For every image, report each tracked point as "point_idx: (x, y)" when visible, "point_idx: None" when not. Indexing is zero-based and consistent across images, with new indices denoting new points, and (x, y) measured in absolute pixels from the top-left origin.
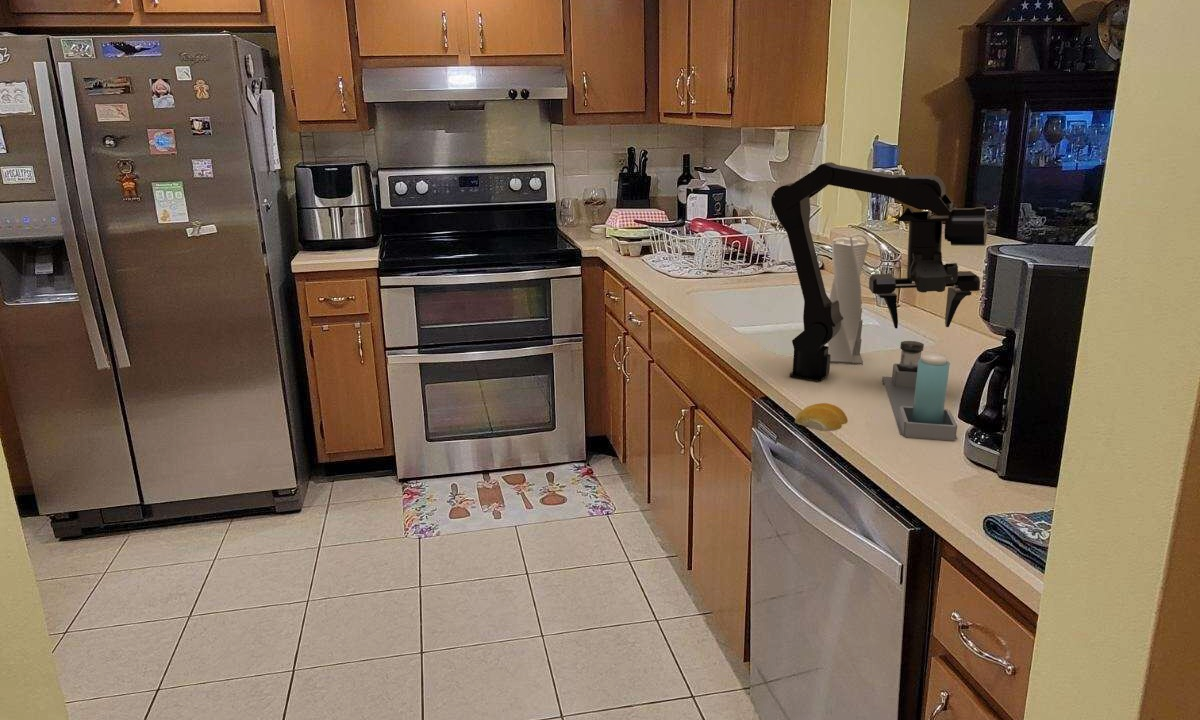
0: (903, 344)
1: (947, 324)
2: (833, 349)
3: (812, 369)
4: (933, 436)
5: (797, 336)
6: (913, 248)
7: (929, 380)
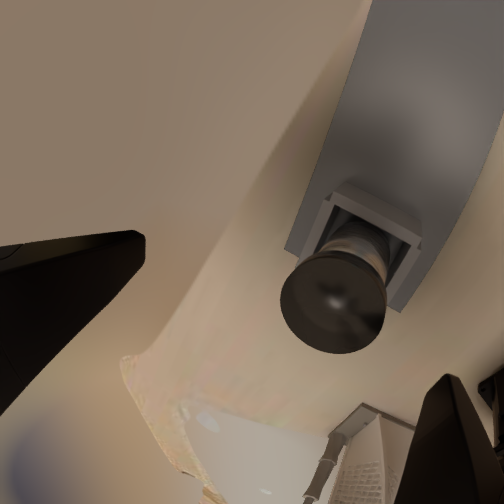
0: (378, 317)
1: (129, 237)
2: (404, 454)
3: None
4: None
5: None
6: None
7: None
